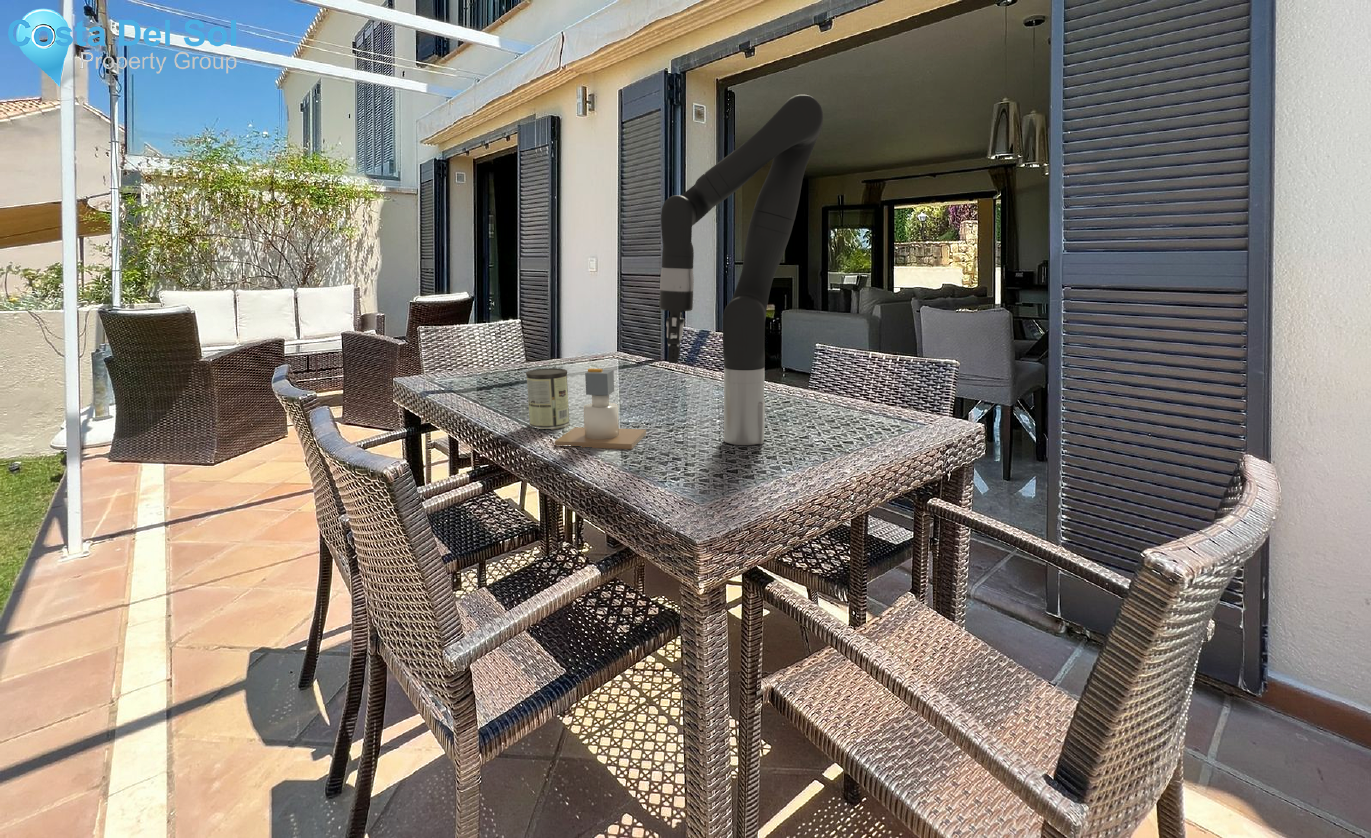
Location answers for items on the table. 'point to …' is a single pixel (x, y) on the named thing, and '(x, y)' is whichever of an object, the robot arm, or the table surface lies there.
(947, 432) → the table surface
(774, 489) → the table surface
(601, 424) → the board with white bottle
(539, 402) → the coffee can
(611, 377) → the grey cube with tab
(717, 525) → the table surface
